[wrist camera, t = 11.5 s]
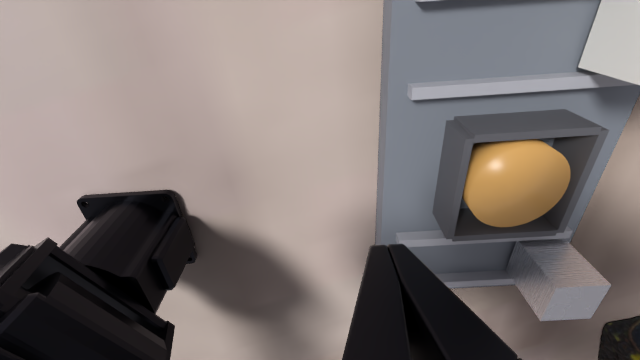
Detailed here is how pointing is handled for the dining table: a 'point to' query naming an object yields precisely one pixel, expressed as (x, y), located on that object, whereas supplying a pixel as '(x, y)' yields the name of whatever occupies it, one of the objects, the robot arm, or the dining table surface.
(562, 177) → the button amber
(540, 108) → the control panel
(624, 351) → the black and yellow box
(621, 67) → the lever ivory
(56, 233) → the dining table surface
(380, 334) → the robot arm
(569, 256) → the grey metal block
